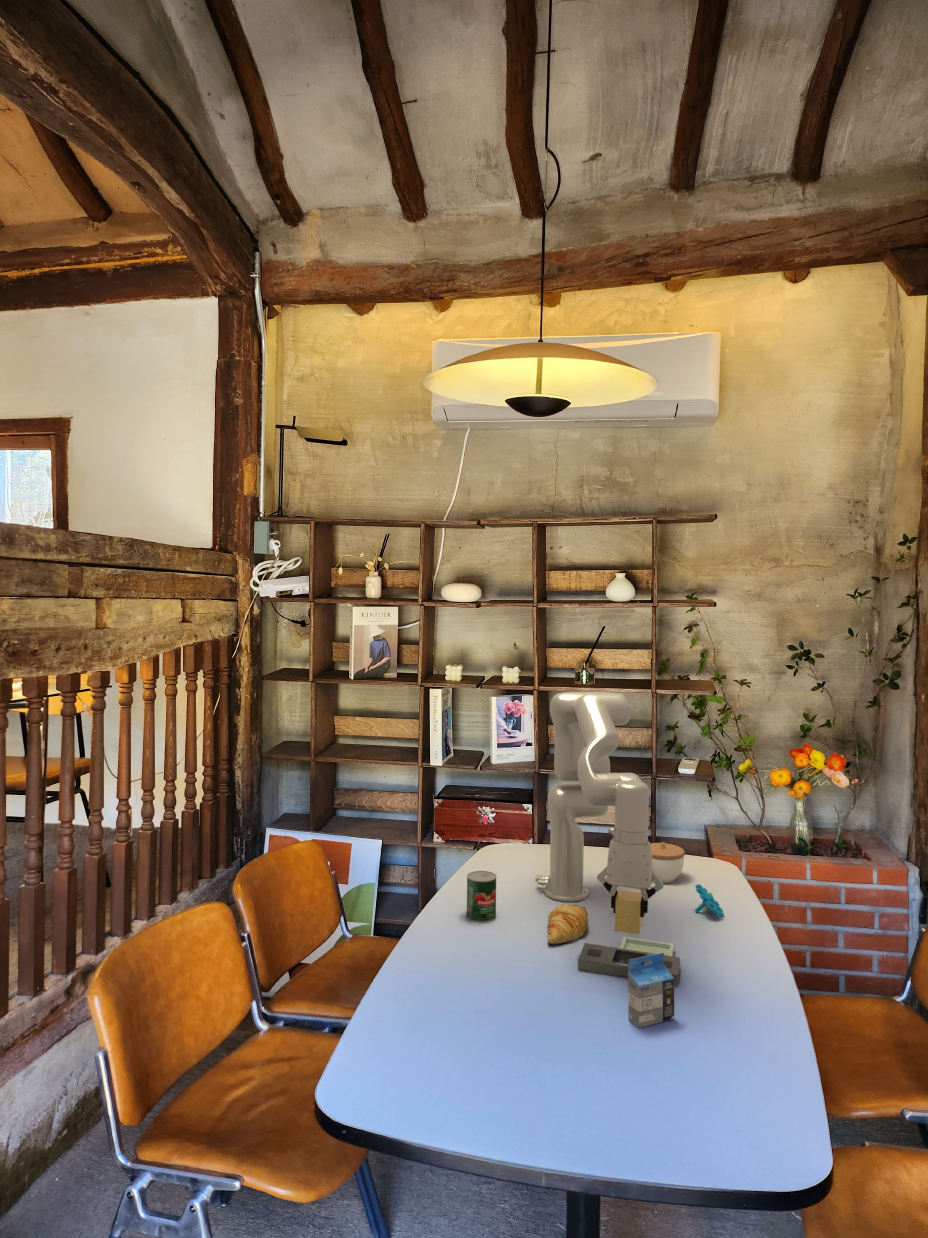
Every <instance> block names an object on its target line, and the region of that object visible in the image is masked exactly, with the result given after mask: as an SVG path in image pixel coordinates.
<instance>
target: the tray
mask: <svg viewBox="0 0 928 1238" xmlns="http://www.w3.org/2000/svg"><path fill="white" fill-rule="evenodd" d="M619 948H621V949H628V950H634V951H641V952H647V953H654V954H659V953H664V955H667V956H673V957H674V952H675V944H674V943H671V942H670V943H668V942H663V941H656V940H650V939H649V940H648V939H643V938H642V939H641V938H635V937H628V936H623V938H622V941H621V944H620V947H619Z"/></svg>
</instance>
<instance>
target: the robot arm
mask: <svg viewBox="0 0 928 1238" xmlns="http://www.w3.org/2000/svg"><path fill="white" fill-rule="evenodd" d="M549 711H550V718H551V721H552V724H553V728H554V729H553V730H554V753H553V754H554V757H553V758H554V759H553V761H554V762H553V763H554V764H553V768H554V769H553V770H554V774H555V777H556V778H558V780H561V781H566V782H567V781H568V782H569V781H570V782H572V781H574V782H575V781H579V783H566V784H558V785H555V786H553V787H551V788H550V789H549V790H548V793H547V806H548V812H549V823H550V829H549V830H550V837H549V839H550V840H549V841H550V843H549V846H550V847H549V849H550V851H549V852H550V853H549V854H550V855H549V875H546V876H545V875H544V876H543V875H539V874H536V876H535V882H536V883H537V885H538V886H539V885H540V886H544V888H543V890H544V895H546V896H547V897H548V898H549V899H553V900H555V901H559V902H568V903H569V902H570V903H572V902H573V903H574V902H579V901H583V900H585V899H587V898H588V897H589V889H588V888H587V887H585V886H584V855H585V854H584V849H585V847H584V843H585V840H584V839H585V838H584V836H585V835H584V832H583V829H582V827H581V826H580V825H579V824H578V823H577V822H576V819H581V818H583V819H584V818H598V817H599V818H600V817H603V816H605V815H606V814H607V812H608V810H609V807H610V806H614V826H613V827H608V828H607V834H609V835H611V836H612V837H613V838H611V840H610V841H609V848H608V854H607V862H606V863H607V864H606V866H605V867H604V869H603V870H601V871H600V872H599V873H598V875H596V880H598V882H599V883H600V884H601V885H603V888H605V889H606V891H607V892H608V893H609V895H610V908H611V909H613V912H612V914H615V907H616V897H617V894H618V887H622V888H629V889H636V890H640V893H642V899H641V918H642V919H643V918H644V917H645V914H648V911H649V909H648V908H649V900H650V898H651V897H653V896H654V895H655V894H656V893H658V892H660V891H661V890H662V889H663V888H664V886H665V885H664V883H662V881H661V880H660V879H659V878H658V876H657V875H656V874H655V873H654V871H653V858H652V849H651V844H650V843H651V841H649V803H650V801H649V799H650V798H649V797H650V790H649V786H648V785H647V784H646V783H645V782H643V781H642V780H641V778H640V776H638V774H636V773H634V772H611V763H610V761H611V760H610V757H609V755H610V754H612V753H613V752H614V751H615V750H616V749H617V748H618V747H619V744H620V736H619V734H618V731H617V728H616V726H624V725H626V724H628V723H629V721H630V720H631V715H632V710H631V705H630V702H629V699H627V697H626V696H625V695H624V694H622V693H620V692H619V693H618V692H611V691H609V692H608V691H568V692H566V691H565V692H560V693H559V692H558V693H555V695H553V697H552V698H551V700H550V705H549ZM652 884H654V885H653V886H652Z"/></svg>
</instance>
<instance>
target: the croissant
mask: <svg viewBox="0 0 928 1238" xmlns="http://www.w3.org/2000/svg"><path fill="white" fill-rule="evenodd" d="M547 917H548V920H547V921H548V922H547V942H548V943H549V944H552V945H555V944H565V943H568V942H572V941H574V940H578V939H581V938H582V937H584V934H585V932H586V930H587V927H588V924H589V923H588V922H589V920H588V911H587V909H586V907H585V906H578V905H577V904H562V905H560V906H559V905H558V906H557V907H555V908H553V909H552V910H551V911H550V913H549V914H548V916H547Z"/></svg>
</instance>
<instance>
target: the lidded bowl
mask: <svg viewBox="0 0 928 1238" xmlns="http://www.w3.org/2000/svg"><path fill="white" fill-rule="evenodd" d="M650 844H651V849H652V858H653V871H654V873H655V874H656V875H657V876H658V878H659V879H660V880H661V881H662V883H663V884H664V883H665V884H668V883H669V884H670V883H673V882H675V879H677V878H678V877H679V876H680V875H681V873H682V872H683V867H684V861H685V850H684V849H683V848H682V847H681V846H678V845H676V844H671V843H666V842H664V841H663V842H652V843H651V842H650Z"/></svg>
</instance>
